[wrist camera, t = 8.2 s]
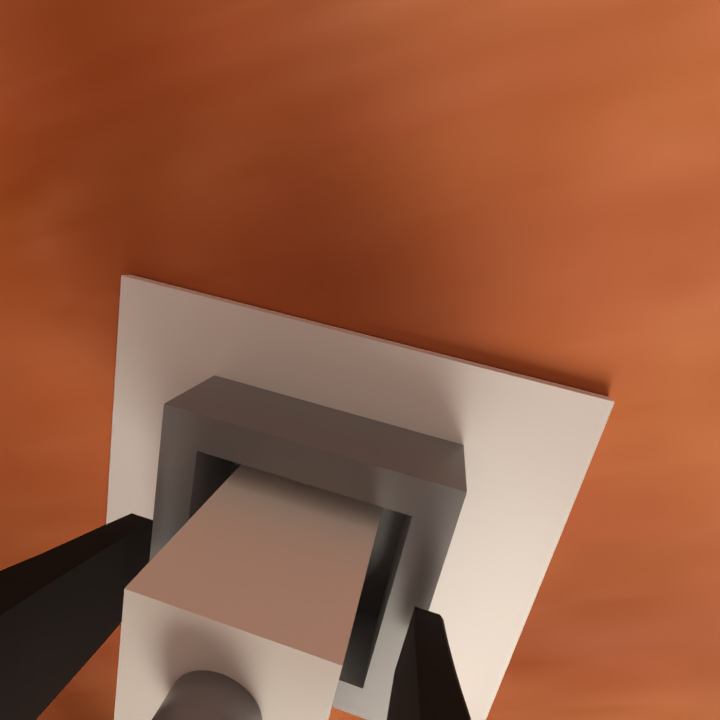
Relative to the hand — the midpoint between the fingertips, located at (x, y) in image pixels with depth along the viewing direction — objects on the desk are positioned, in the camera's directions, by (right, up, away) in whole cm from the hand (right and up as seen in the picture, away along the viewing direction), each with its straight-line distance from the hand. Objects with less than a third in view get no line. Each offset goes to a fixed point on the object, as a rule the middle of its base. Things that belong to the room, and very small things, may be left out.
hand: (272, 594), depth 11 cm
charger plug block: (+1, +1, +3) cm, 3 cm away
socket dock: (+1, +1, +3) cm, 4 cm away
